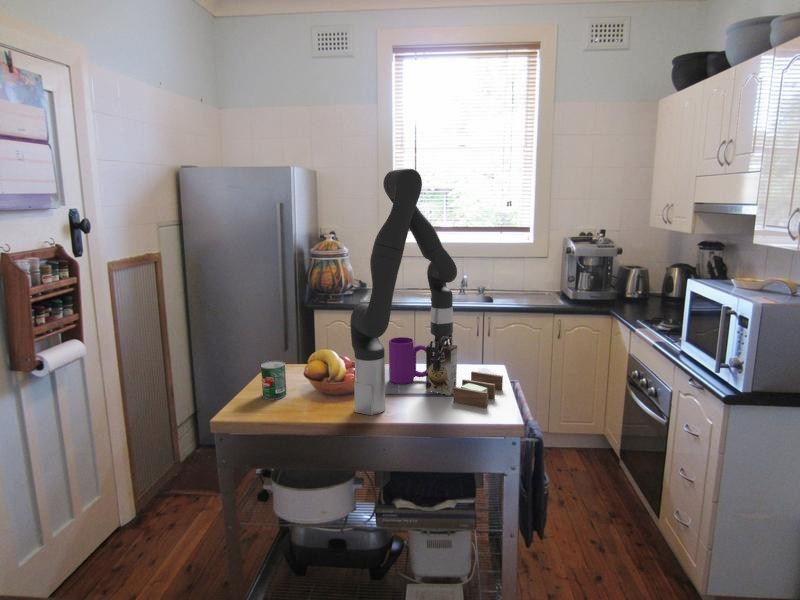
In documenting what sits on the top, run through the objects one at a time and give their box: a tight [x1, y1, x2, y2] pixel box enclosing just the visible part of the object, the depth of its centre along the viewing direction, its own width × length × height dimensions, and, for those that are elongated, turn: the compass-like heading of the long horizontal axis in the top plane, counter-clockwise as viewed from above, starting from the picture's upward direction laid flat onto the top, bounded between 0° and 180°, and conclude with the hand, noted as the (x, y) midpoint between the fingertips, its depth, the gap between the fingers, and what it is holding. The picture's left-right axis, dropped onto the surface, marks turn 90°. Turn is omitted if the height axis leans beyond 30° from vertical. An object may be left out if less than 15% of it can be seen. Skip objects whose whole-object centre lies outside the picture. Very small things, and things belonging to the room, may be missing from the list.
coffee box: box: [425, 343, 458, 396], centre depth 178 cm, size 9×6×16 cm
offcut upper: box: [460, 383, 488, 392], centre depth 170 cm, size 5×7×2 cm, turn 48°
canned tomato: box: [260, 360, 287, 401], centre depth 176 cm, size 8×8×11 cm
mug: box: [388, 336, 426, 385], centre depth 189 cm, size 9×16×15 cm, turn 90°
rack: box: [452, 370, 504, 409], centre depth 174 cm, size 18×11×5 cm, turn 153°
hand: (441, 366), depth 178 cm, fingers open, 8 cm apart
